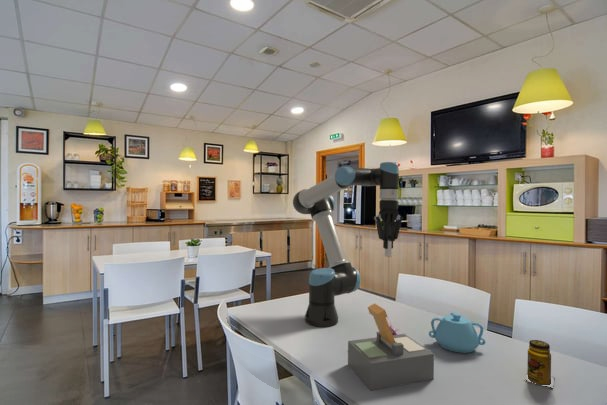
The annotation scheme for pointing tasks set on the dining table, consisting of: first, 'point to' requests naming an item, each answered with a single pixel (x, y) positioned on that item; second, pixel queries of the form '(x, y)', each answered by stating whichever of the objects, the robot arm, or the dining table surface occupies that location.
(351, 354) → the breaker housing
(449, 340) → the teapot
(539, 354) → the condiment
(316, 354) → the dining table surface
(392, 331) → the lily
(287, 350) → the dining table surface
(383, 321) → the breaker lever
